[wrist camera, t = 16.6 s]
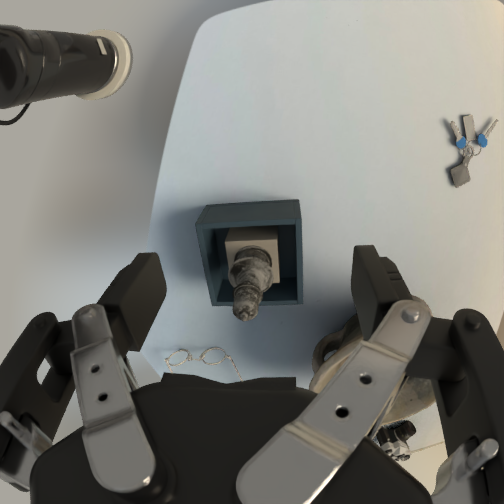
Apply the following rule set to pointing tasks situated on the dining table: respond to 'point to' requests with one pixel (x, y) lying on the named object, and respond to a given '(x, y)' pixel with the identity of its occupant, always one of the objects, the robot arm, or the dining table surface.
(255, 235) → the block
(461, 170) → the key chain
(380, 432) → the camera
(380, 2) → the dining table surface
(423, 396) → the bowl
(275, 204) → the crate
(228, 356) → the eyeglasses
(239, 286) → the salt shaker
